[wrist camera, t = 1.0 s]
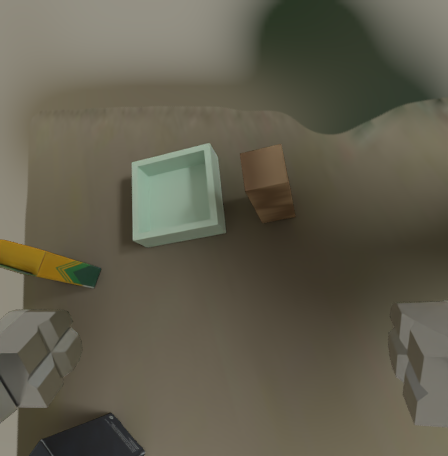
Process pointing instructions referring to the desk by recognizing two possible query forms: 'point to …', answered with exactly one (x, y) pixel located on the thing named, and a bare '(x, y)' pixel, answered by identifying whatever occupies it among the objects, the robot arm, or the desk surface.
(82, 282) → the crayon box
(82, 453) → the small box
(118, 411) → the desk surface
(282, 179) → the walnut block
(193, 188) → the tray
